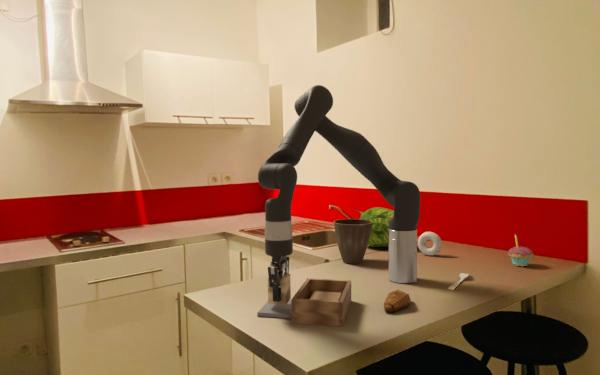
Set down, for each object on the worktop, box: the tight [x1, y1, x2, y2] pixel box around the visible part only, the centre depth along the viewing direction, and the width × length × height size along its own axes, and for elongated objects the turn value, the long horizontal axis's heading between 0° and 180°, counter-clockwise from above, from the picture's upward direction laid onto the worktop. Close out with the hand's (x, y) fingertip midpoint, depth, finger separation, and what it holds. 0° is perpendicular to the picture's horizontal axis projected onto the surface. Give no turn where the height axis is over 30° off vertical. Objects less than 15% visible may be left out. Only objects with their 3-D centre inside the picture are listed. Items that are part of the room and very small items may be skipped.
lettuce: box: [359, 206, 394, 248], centre depth 206 cm, size 19×23×18 cm
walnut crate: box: [290, 278, 352, 327], centre depth 124 cm, size 13×20×6 cm, turn 168°
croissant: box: [383, 289, 411, 313], centre depth 127 cm, size 14×7×5 cm, turn 144°
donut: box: [417, 231, 443, 256], centre depth 189 cm, size 10×4×10 cm, turn 55°
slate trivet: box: [256, 299, 292, 319], centre depth 126 cm, size 9×12×1 cm
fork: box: [449, 272, 472, 288], centre depth 150 cm, size 3×21×3 cm, turn 145°
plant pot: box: [333, 218, 372, 265], centre depth 180 cm, size 15×15×16 cm
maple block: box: [267, 273, 292, 304], centre depth 126 cm, size 5×5×7 cm
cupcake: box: [507, 233, 535, 265], centre depth 170 cm, size 9×8×12 cm
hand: (279, 297), depth 126 cm, fingers closed on maple block, 5 cm apart
